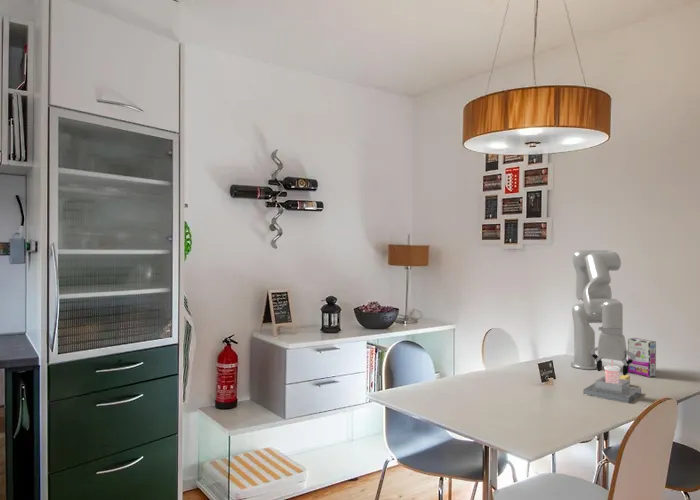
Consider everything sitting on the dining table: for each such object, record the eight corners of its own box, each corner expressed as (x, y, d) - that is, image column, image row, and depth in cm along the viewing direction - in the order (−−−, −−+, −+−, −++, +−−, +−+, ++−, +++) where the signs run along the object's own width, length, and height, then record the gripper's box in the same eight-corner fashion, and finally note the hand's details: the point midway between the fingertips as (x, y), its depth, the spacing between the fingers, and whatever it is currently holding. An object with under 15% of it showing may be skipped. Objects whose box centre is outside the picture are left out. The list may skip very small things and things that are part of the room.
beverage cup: (605, 385, 217) (606, 352, 217) (622, 388, 213) (622, 354, 213) (602, 389, 212) (602, 355, 212) (618, 392, 209) (618, 357, 208)
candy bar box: (656, 376, 239) (656, 341, 239) (649, 377, 237) (649, 342, 237) (634, 371, 249) (634, 337, 249) (627, 372, 247) (627, 338, 247)
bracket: (616, 382, 229) (616, 370, 229) (636, 386, 224) (636, 373, 224) (606, 389, 219) (606, 376, 219) (626, 393, 214) (626, 379, 214)
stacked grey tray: (597, 385, 225) (597, 373, 225) (641, 393, 213) (641, 380, 213) (583, 394, 213) (583, 381, 212) (628, 403, 201) (628, 388, 201)
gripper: (587, 330, 216) (587, 370, 216) (632, 335, 204) (632, 378, 204) (593, 327, 221) (593, 367, 221) (638, 332, 209) (638, 374, 209)
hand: (612, 372), depth 213 cm, fingers open, 9 cm apart
